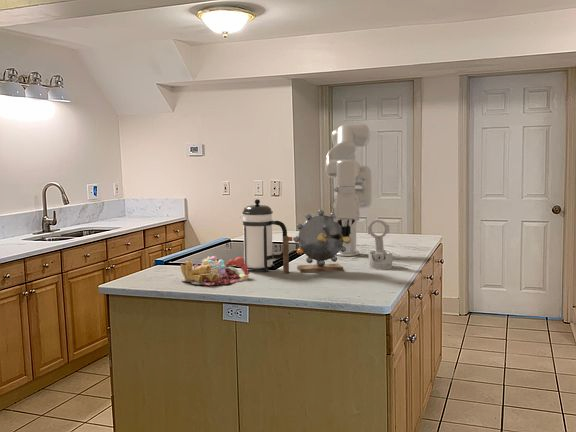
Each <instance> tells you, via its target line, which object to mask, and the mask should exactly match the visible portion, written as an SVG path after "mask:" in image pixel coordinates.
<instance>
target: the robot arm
mask: <svg viewBox="0 0 576 432" xmlns="http://www.w3.org/2000/svg"><path fill="white" fill-rule="evenodd" d="M370 138H371V132H370V127H369V126H368V125H367V124H364V123H345V124H341V125H340V126H338V128H337V129H334V130H332V132H331V142H332V146H333V147H332V148H331V149H330V150H328V152H327V154H326V157H325V165H324V169H325V175H326V176H327V177H328V178H332V179H335V178H336V186H335V187H333V188H332V192H335V193H334V197H333V203H332V204H333V205H332V212H333V219H332V221H334V222H338V223H339V224H340V225H341V234H342V235H343V236H349V237H350V238H351V242H350V243H349V244H347V243H345V242H343V245H342V246H344V247H345V248H346V251H345V252H341V251H339V252H338V253H337V254H336V255H335V256H339V257H354V256H355V257H356V256H359V255H360V251H359V250H357V222H359V221H360V209H362V210H363V209H369V208H370V207H371V206H372V201H373V200H372V199H373V198H372V194H373V192H372V191H373V190H372V170H371V168H370V167H369V166H368V165H360V163H359V162H358V160H356V154H355V153H356V151H357V148H358V147H359V148H361V147H362V148H363V147H367V146H369V143H370ZM356 186H359V187H360V188H356ZM345 224H346V225H345Z"/></svg>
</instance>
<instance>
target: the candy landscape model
mask: <svg viewBox="0 0 576 432" xmlns="http://www.w3.org/2000/svg"><path fill="white" fill-rule="evenodd" d="M244 263H245V261H244V257H242V256H237V257H236V258H235V259H228V262H226V263H225V260H223V259H219V258H218V257H217V256H215V255H212V256H207V258H206V257H205V258H203V259H202V260H201V264H200V265H199V264H198V263H196V264H193V261H192V260H185V262H184V264H182V263H181V264H180V265H179V266H180V271H181V273H182V275H183V277H184V278H183V279H181V281H182V282H187V283H189V282H190V284H192V285H202V286H203V285H204V286H213V285H216V286H219V285H229V284H230V285H231V284H234V283H237V282H243V281H246V280H249V276H250V272H249V269H248V266H247V265H246V264H244ZM234 266H236V267H234ZM237 268H240V269H241V271H243V272H244V274H243V273H240V272H239V270H238V269H237ZM247 269H248V270H247Z"/></svg>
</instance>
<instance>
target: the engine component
mask: <svg viewBox="0 0 576 432" xmlns="http://www.w3.org/2000/svg"><path fill="white" fill-rule="evenodd" d="M375 223H380V224H382V225H383V228H384V231H383V233H382V234H380V235H379V234H378V235H377V234H375V233H374V232H373V226H374V224H375ZM390 230H391V229H390V225H389V224H387V222H385V220H383V219H379V218H377V219H374V220H373V221H371V222H370V223H369V225H368V226H366V232H367V235H370V236H371V237H372V238H374V241H375V242H374V243H375V250H369V251H368V268H370V269H374V270H389V269H392V268H393V251H388V252H387V250H385V249H384V248H385V247H384V237H385V236H386V235H387V234H390Z"/></svg>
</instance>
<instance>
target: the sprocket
mask: <svg viewBox="0 0 576 432" xmlns="http://www.w3.org/2000/svg"><path fill="white" fill-rule="evenodd" d="M316 213H317V215H313V216H312V214H311V213H306V214H305V215H304V217H305V221H304V222H303V223H300V222H297V223H296V229H298V230H299V231H298V235H295V236H292V237H293V241H294V243H298V246H299V248H297V249H296V254H298V255H303V254H305V256H306V258H305V261H306V262H307V264H312V263H313V262H314V261H317V260H318V263H319V265H321V266H324V265H325V264H326V261H327V260H331V262H334V263H336V262H337V261H338V257H337V255H336V254H337V253H338V252H339V251H341V252H345V251H346V248H345V247H344V246H342V245H343V242H345V243H347V244H349V243H350V242H351V238H350V237H349V236H343V235H342V234H341V225H340V224H339V223H338V222H334V221H332V219H333V211H331V212H330V213H329V215H326V214H325V211H324V210H322V209H318V210H317V212H316ZM345 225H346V224H345Z"/></svg>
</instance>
